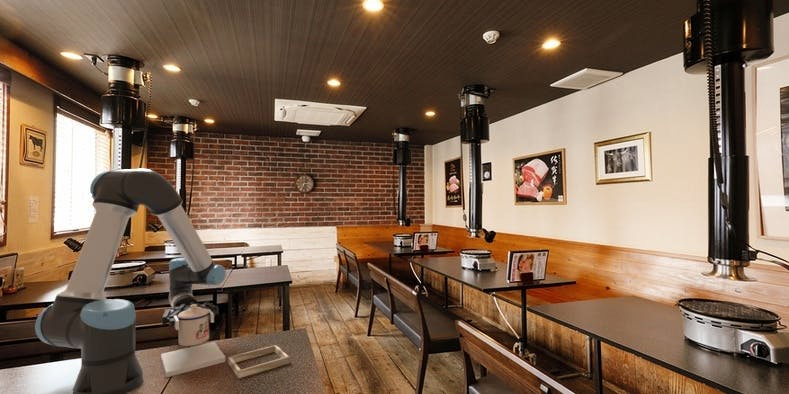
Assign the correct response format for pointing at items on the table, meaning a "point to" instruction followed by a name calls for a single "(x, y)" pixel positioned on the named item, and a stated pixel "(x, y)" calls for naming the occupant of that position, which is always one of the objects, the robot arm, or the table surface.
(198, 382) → the table surface
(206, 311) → the teacup with lid
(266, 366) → the cup holder
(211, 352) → the ceramic board
